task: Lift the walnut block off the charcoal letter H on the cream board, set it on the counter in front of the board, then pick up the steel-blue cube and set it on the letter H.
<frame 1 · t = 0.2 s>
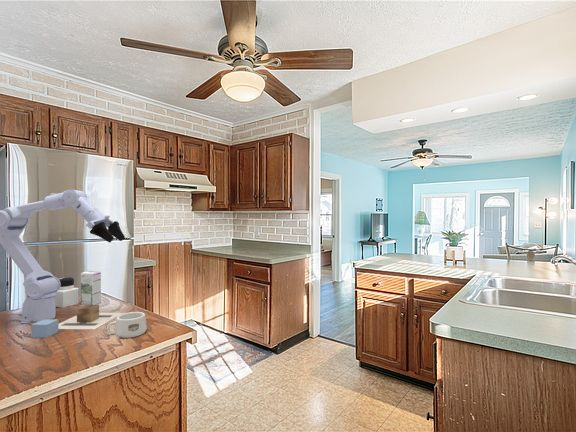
hand: (117, 239, 116), 30 cm above the counter, tool tilted 45°, fingers open, 7 cm apart
mug: (127, 334, 103), on the counter
letter board: (88, 322, 114), on the counter
blue cube: (45, 337, 100), on the counter
syrup box: (91, 304, 138), on the counter
block: (88, 320, 114), point 1 cm above the counter, touching letter board
medicine bottle: (65, 305, 136), on the counter
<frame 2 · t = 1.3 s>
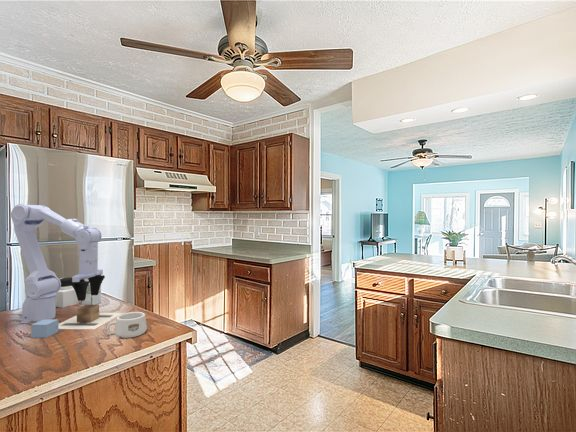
hand: (88, 297, 114), 9 cm above the counter, tool pointing down, fingers open, 7 cm apart
nothing on the counter moved.
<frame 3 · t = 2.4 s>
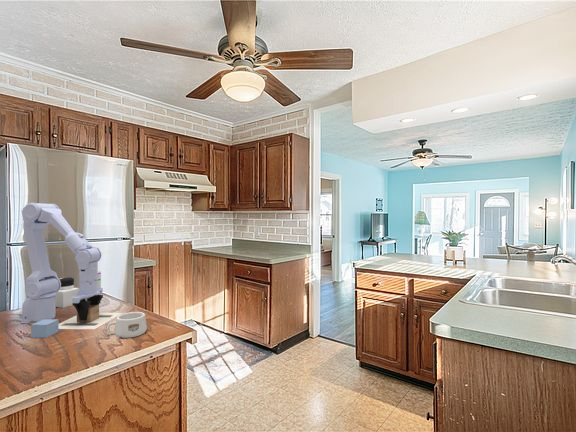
hand: (88, 317, 114), 2 cm above the counter, tool pointing down, fingers closed on block, 5 cm apart
block: (88, 320, 114), point 1 cm above the counter, touching gripper, letter board
everything else where it was.
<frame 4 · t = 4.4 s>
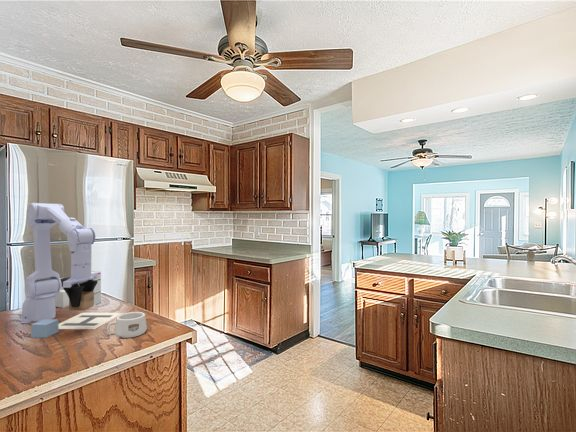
hand: (81, 304, 104), 10 cm above the counter, tool pointing down, fingers closed on block, 5 cm apart
block: (81, 308, 104), point 8 cm above the counter, touching gripper
everything else where it was.
when the fingers open (3 cm above the counter, at t = 6.5 s): block drops 1 cm, on the counter.
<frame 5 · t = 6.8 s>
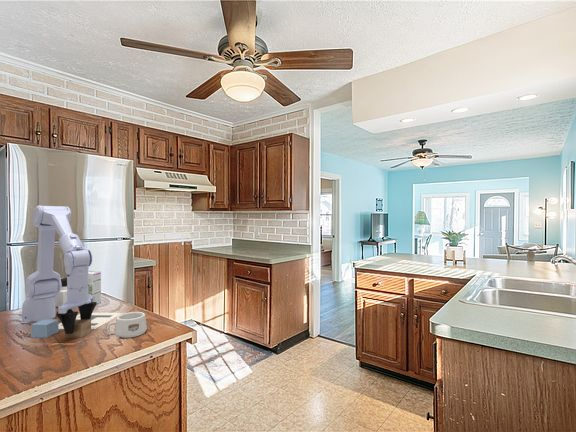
hand: (77, 329, 100), 3 cm above the counter, tool pointing down, fingers open, 7 cm apart
block: (78, 337, 100), on the counter
everything else where it was.
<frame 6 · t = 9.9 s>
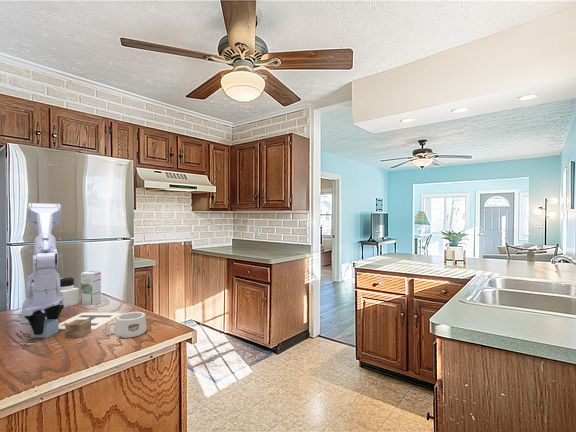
hand: (45, 331, 100), 2 cm above the counter, tool pointing down, fingers closed on blue cube, 5 cm apart
blue cube: (45, 337, 100), on the counter, touching gripper
everything else where it was.
when the fingers open (4 cm above the counter, at t = 14.0 s): blue cube stays where it is, resting on letter board.
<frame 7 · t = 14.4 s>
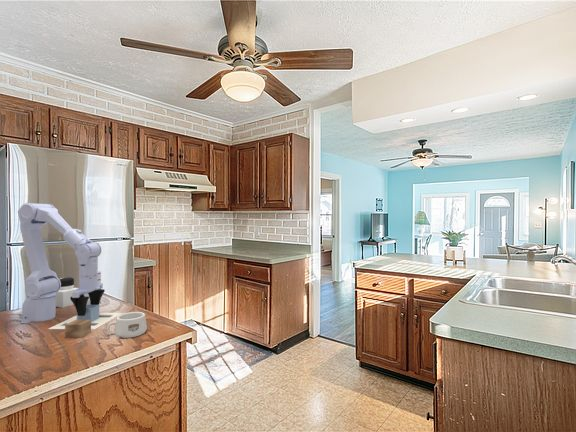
hand: (88, 312, 114), 4 cm above the counter, tool pointing down, fingers open, 7 cm apart
blue cube: (88, 320, 114), point 1 cm above the counter, touching letter board
everything else where it was.
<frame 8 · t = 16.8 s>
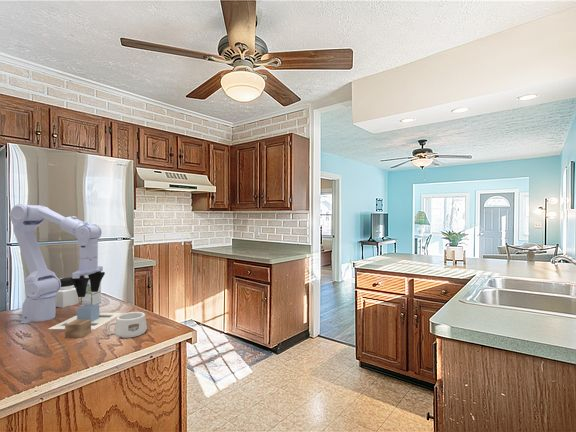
hand: (88, 294, 114), 10 cm above the counter, tool pointing down, fingers open, 7 cm apart
nothing on the counter moved.
at the end: blue cube 0.0 cm off-centre on the letter board, point 0.8 cm above the letter board's base; blue cube tilted 0°; block touching counter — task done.
